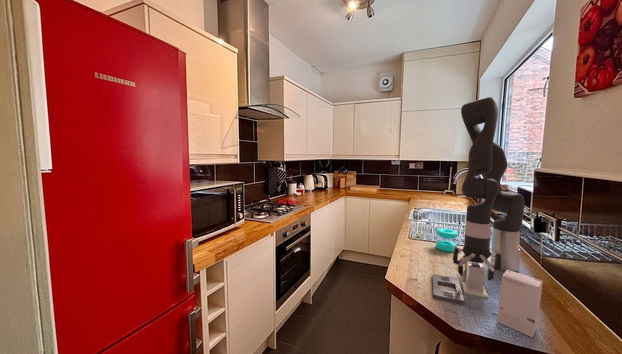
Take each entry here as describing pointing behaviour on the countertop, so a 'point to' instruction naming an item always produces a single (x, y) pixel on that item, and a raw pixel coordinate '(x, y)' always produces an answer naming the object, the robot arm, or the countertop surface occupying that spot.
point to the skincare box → (519, 302)
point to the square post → (475, 277)
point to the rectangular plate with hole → (445, 294)
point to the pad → (474, 292)
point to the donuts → (446, 234)
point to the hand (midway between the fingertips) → (474, 277)
